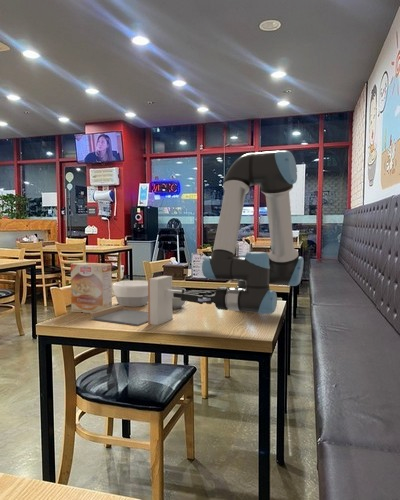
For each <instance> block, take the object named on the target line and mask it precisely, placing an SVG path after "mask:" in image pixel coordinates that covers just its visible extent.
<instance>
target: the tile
mask: <svg viewBox="0 0 400 500" xmlns="http://www.w3.org/2000/svg"><path fill="white" fill-rule="evenodd" d="M147 281H148V303H147V312H148V322H147V324H148V325H152V326H153V325H154V326H160V325H162V324H165V323H166V322H169V321H171V320H173V309H172V298H167V295H166V290H168V289H169V290H172V287H173V275H160V276H155V277H151V278H148V279H147Z"/></svg>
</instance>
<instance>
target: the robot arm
mask: <svg viewBox="0 0 400 500" xmlns="http://www.w3.org/2000/svg"><path fill="white" fill-rule="evenodd" d="M297 172H298V168H297V163H296V159H295V156H294V155H293V153H292V152H291V151H289V150H278V149H277V150H270V151H269V150H268V151H262V152H261V151H259V152H248V153H245V154H243V155H241V156H240V157H238V158H237V159H236V160H235V161H234V162H233V163H232V164H231V166H230V167H229V168H228V170H227V172H226V174H225V176H224V180H223V184H222V188H223V190H224V193H223V197H222V198H223V199H222V204H221V208H220V209H221V210H220V213H219V214H220V215H219V219H218V224H217V228H216V234H215V237H214V242H213V248H212V253H211V255H210V256H209V255H208V256H206V257H204V258H203V260H202V263H201V272H202V275H203V277H205V278H206V279H208V280H209V279H210V280H216V281H218V280H219V281H221V280H223V281H236V282H237V286H236V287H228V286H219V287H217V288H216V290H202V289H200V290H198V289H197V290H196V289H190V290H186V291H184V290H169V289H168V290H166V295H167V298H176V299H181V300H182V301H185V302H189V303H196V304H199V305H203V304H207V305H211V304H214V305H215V308H216V309H217V310H222V311H228V310H229V311H232V312H240V313H241V312H245V313H252V314H263V315H264V314H267V315H269V314H270V315H272V314H273V313H274V312H275V311H276V309H277V304H278V296H277V292H276V291H275V290H272V289H270V285H271V286H272V285H273V286H274V285H275V286H285V287H286V286H287V287H297V286H299V284H300V283H301V281H302V277H303V271H304V264H305V263H304V262H305V261H304V257H303V256H299V251H298V250H297V249H296V248H295V247H294V235H293V223H292V211H291V208H292V207H291V198H290V192H291V191H292V189H293V187H294V184H296V183H297V180H298V173H297ZM252 186H259V187H260V192H261V193H262V194H263V195H264V196H265V203H266V211H267V220H268V230H269V237H270V238H269V239H270V246H271V247H270V248H271V251H269V253H267V252H264V251H248V252H246V253H245V254H244V253H243V254H241V255H239V256H238V257H235V253H236V248H237V242H238V238H239V232H240V226H241V222H242V215H243V210H244V204H245V199H246V196H247V194H248V193H249V191H250V187H252Z"/></svg>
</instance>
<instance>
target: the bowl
mask: <svg viewBox="0 0 400 500" xmlns="http://www.w3.org/2000/svg"><path fill="white" fill-rule="evenodd" d="M112 290H113V293H114V296H115V298H116V301H117V304H118V305H123V307H128V308H129V307H130V308H133V307H136V308H137V307H138V308H139V307H144V306H146V305H148V280H121V281H116V282H114V283H112Z"/></svg>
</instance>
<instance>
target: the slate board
mask: <svg viewBox="0 0 400 500" xmlns="http://www.w3.org/2000/svg"><path fill="white" fill-rule="evenodd" d="M90 320H91V321H99V322H107V323H115V324H121V325H128V326H129V325H130V326H135V327H139V326H141V325H145V324H148V311H144V310H143V311H142V310H135V309H134V310H133V309H125V308H124V306H123V305H119V304H118V305H114V306H112V307H110V308H107V309H103V310H100V311H96V312H93V313H90Z"/></svg>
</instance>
